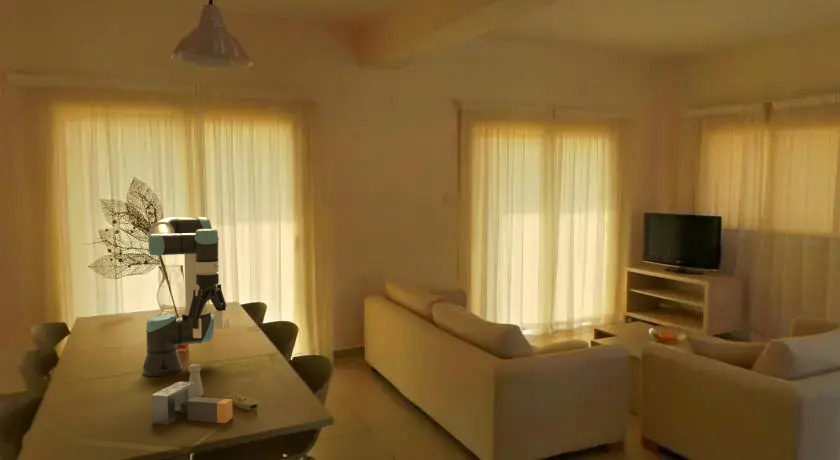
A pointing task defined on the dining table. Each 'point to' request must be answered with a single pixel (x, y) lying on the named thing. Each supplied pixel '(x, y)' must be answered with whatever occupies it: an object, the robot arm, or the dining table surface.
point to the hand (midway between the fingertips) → (208, 333)
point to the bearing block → (170, 401)
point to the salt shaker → (196, 379)
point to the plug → (208, 409)
